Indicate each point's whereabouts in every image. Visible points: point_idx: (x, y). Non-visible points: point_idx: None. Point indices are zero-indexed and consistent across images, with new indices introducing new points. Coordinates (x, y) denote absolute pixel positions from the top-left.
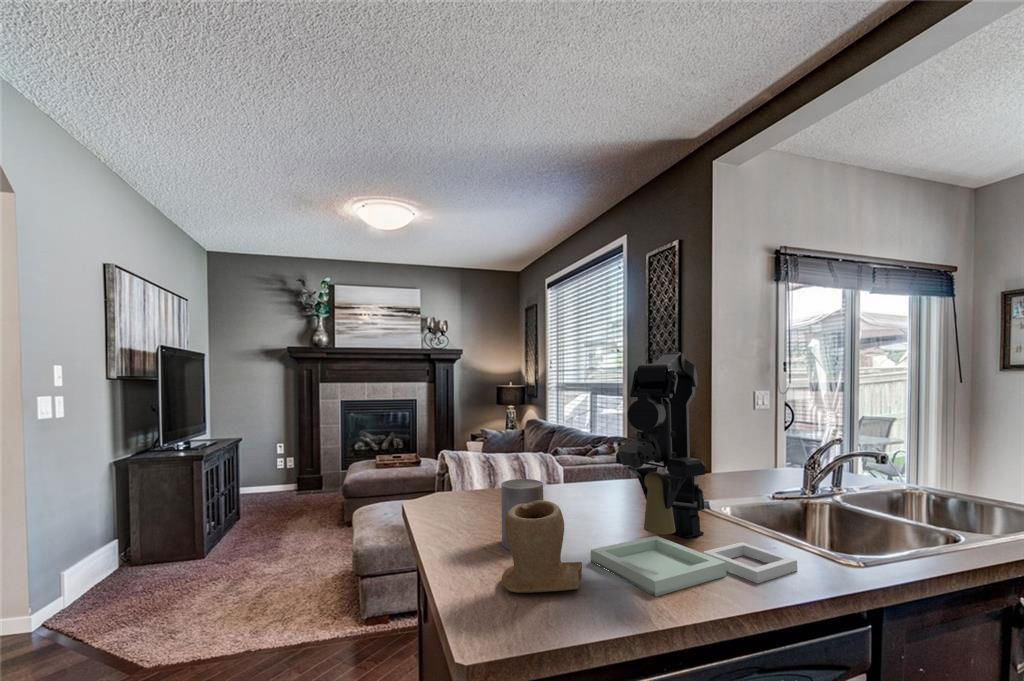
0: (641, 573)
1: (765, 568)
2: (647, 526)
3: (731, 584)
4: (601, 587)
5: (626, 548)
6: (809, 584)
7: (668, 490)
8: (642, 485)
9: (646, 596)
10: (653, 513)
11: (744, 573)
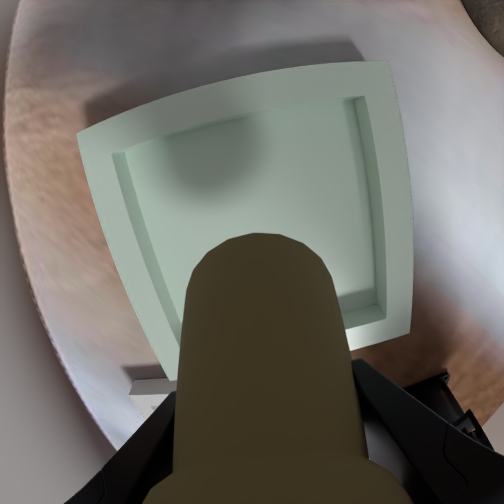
0: (132, 116)
1: (145, 415)
2: (250, 244)
3: (133, 340)
4: (186, 18)
5: (378, 195)
6: (131, 427)
7: (85, 487)
8: (437, 439)
9: (103, 111)
10: (213, 308)
11: (157, 385)
